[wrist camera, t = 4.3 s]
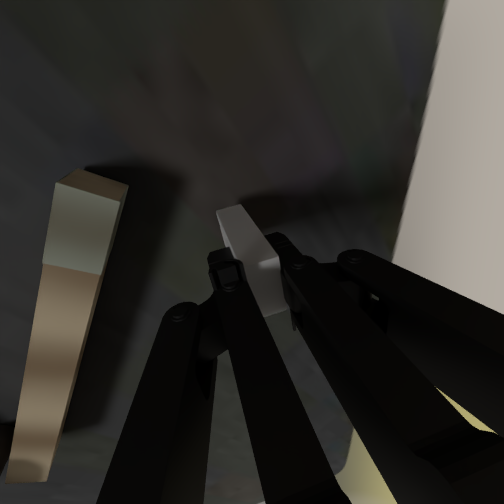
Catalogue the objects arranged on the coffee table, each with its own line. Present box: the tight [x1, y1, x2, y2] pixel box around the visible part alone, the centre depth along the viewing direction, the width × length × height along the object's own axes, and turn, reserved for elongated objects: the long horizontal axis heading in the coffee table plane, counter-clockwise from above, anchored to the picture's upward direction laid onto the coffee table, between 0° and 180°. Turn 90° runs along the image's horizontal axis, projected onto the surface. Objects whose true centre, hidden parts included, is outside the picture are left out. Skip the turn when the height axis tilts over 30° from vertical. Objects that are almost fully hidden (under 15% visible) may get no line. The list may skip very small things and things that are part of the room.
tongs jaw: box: [5, 168, 129, 484], centre depth 17 cm, size 22×2×3 cm, turn 156°
